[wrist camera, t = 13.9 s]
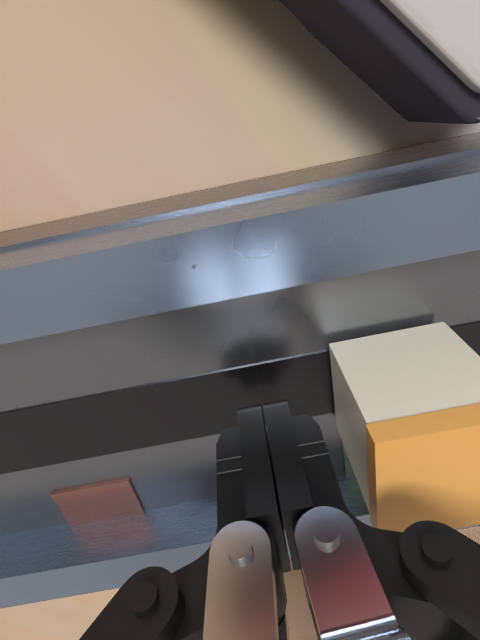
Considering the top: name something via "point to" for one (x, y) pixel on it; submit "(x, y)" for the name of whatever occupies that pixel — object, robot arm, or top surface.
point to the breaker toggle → (411, 424)
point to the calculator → (406, 51)
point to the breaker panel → (204, 346)
